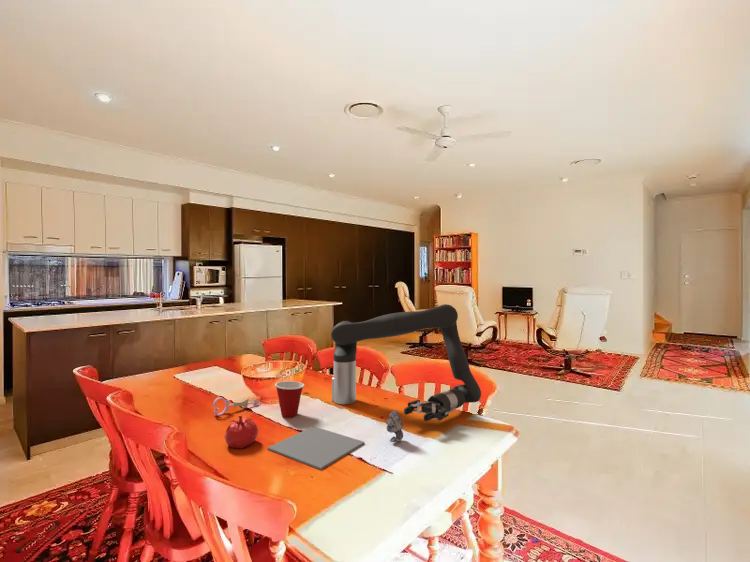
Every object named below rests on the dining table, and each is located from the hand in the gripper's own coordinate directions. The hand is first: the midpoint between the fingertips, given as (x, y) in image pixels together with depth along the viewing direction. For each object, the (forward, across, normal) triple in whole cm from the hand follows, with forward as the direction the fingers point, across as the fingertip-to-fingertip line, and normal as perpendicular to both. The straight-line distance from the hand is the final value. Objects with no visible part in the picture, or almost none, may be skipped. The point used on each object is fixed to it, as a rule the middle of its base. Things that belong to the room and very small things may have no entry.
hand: (414, 414), depth 133 cm
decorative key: (+32, -63, +6) cm, 71 cm away
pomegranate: (+45, -34, +6) cm, 56 cm away
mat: (+30, -15, +6) cm, 34 cm away
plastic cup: (+20, -44, +6) cm, 49 cm away
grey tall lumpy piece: (+10, 0, +6) cm, 12 cm away
